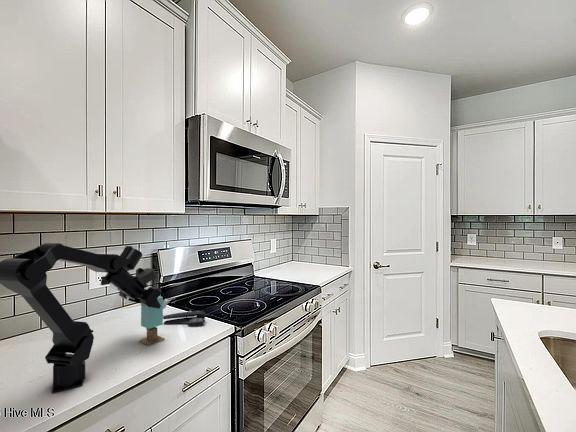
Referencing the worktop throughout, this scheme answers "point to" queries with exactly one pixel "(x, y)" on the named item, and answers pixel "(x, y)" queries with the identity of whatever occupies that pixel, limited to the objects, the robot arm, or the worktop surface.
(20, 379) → the worktop surface
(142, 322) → the teal rectangular block
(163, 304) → the light grey forked piece
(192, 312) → the can opener
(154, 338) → the brown pedestal
